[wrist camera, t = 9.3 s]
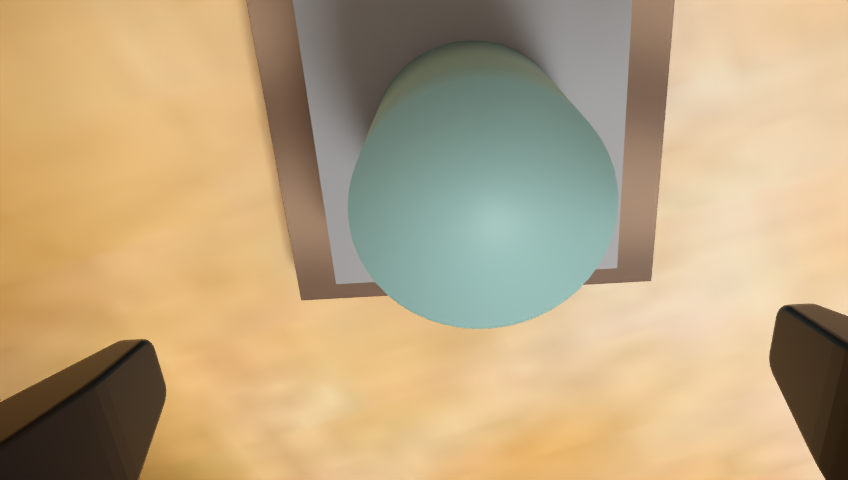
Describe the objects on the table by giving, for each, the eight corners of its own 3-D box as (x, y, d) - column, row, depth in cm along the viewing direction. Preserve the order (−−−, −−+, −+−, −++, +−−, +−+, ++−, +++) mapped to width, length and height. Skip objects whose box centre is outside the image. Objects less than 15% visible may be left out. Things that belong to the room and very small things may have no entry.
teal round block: (568, 220, 17) (615, 318, 12) (387, 236, 17) (367, 337, 13) (566, 30, 15) (622, 63, 10) (361, 51, 15) (326, 93, 11)
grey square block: (593, 226, 20) (617, 268, 17) (350, 241, 21) (336, 284, 18) (603, -43, 17) (634, -44, 14) (313, -19, 17) (290, -15, 15)
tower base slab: (630, 249, 23) (650, 280, 21) (314, 267, 24) (301, 300, 22) (655, -118, 18) (685, -129, 16) (255, -82, 19) (230, -87, 17)
